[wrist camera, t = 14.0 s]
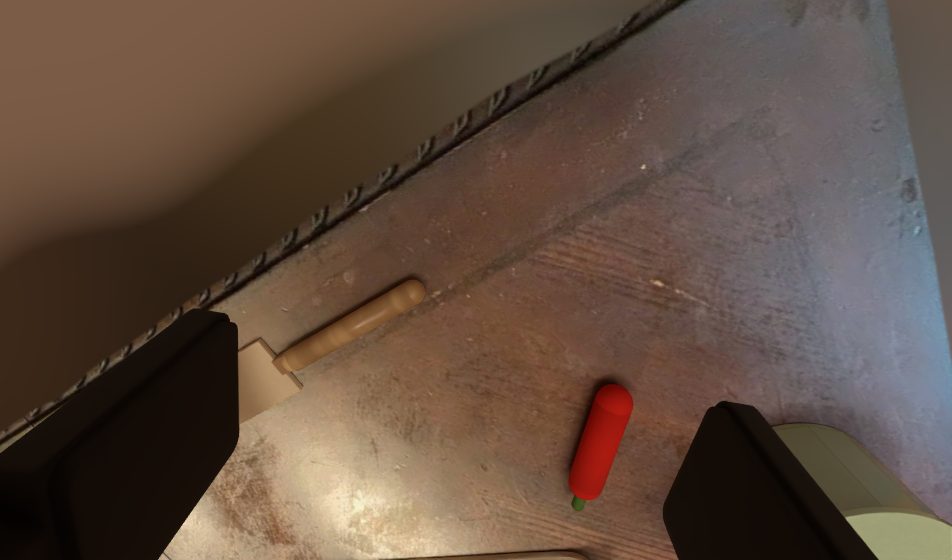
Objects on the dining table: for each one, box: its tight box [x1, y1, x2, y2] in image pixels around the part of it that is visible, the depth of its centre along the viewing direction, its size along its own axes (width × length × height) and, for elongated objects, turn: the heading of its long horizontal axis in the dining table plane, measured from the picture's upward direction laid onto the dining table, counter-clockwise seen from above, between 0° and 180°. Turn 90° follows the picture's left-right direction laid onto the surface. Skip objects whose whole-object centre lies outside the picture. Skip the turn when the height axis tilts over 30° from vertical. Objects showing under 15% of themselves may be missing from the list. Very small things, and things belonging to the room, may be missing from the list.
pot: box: [772, 423, 938, 517], centre depth 37 cm, size 15×15×8 cm
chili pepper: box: [569, 384, 633, 511], centre depth 38 cm, size 12×3×3 cm
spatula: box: [238, 280, 425, 424], centre depth 36 cm, size 21×5×2 cm, turn 121°
